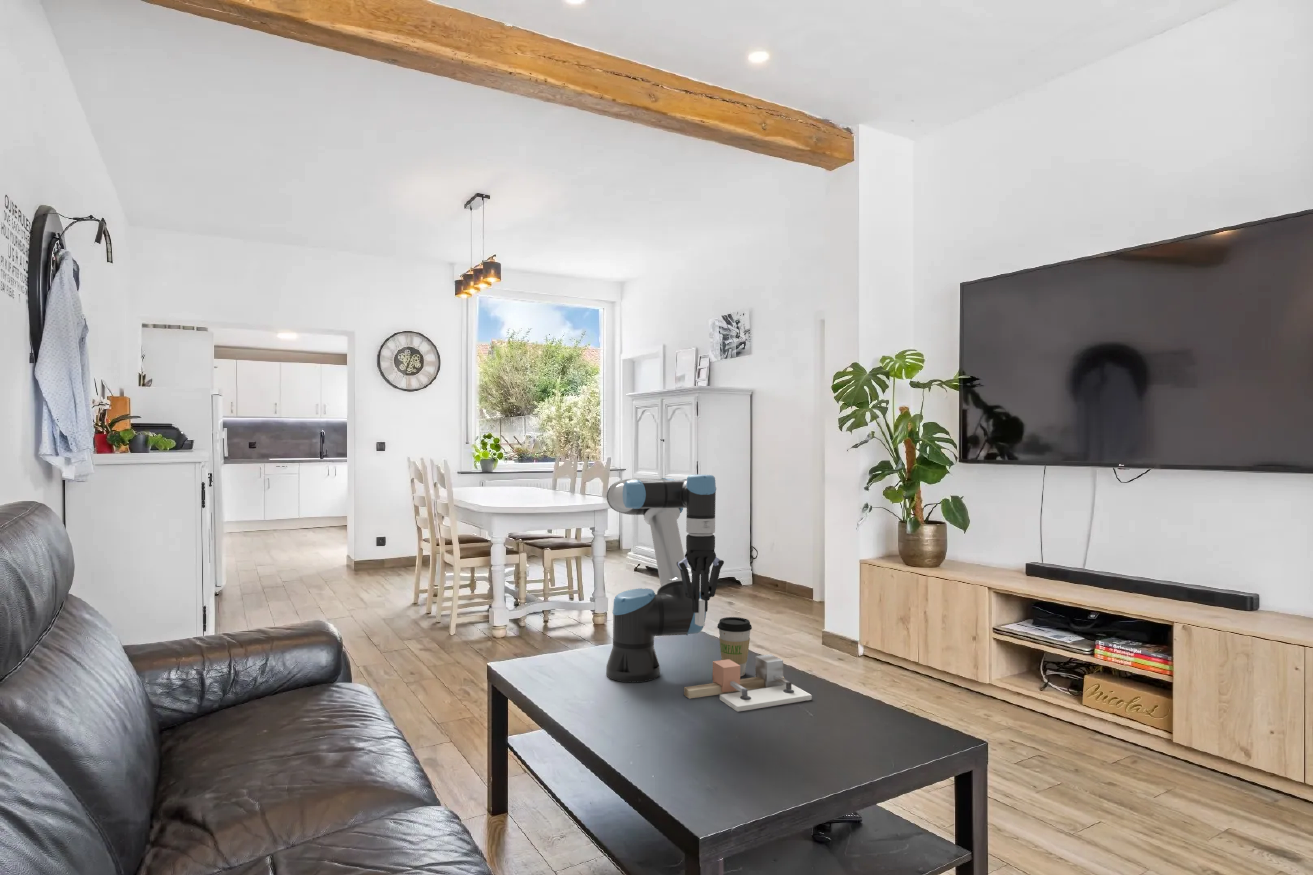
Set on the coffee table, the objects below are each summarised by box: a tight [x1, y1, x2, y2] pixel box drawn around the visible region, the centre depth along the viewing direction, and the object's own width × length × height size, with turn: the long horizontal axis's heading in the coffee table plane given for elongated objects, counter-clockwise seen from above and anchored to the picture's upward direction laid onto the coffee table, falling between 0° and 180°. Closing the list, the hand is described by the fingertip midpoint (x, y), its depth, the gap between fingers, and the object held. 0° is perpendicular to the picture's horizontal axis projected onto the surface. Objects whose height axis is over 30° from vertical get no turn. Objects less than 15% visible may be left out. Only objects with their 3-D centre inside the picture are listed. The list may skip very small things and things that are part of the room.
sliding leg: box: [712, 659, 748, 696], centre depth 195 cm, size 13×5×6 cm, turn 24°
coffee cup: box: [716, 616, 753, 677], centre depth 213 cm, size 10×10×15 cm
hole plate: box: [719, 684, 813, 712], centre depth 192 cm, size 9×22×1 cm, turn 114°
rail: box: [683, 653, 792, 700], centre depth 196 cm, size 13×29×7 cm, turn 114°
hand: (699, 624), depth 194 cm, fingers closed
